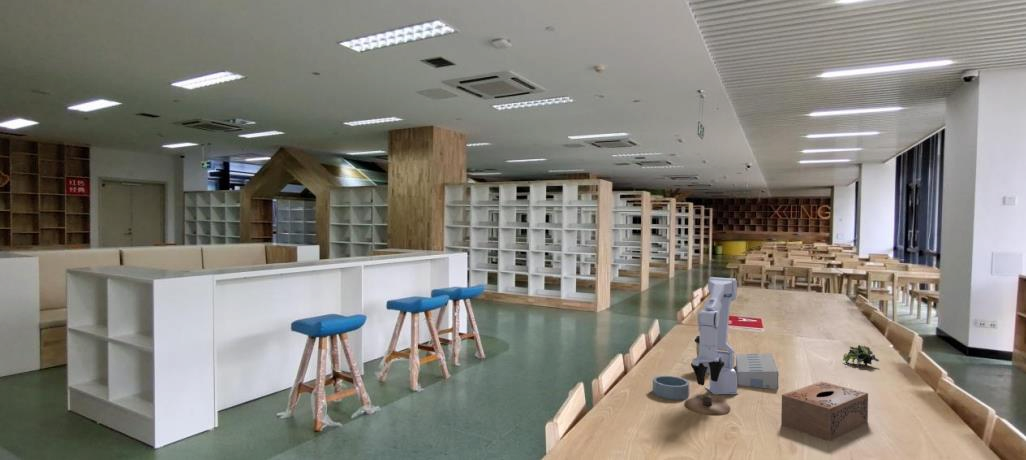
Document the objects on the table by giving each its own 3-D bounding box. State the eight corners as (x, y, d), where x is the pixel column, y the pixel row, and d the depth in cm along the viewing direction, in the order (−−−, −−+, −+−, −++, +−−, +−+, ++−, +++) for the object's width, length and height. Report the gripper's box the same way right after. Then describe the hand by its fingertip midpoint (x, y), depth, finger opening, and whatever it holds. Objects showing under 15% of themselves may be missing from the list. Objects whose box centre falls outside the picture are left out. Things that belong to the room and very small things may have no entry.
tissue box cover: (829, 442, 150) (829, 408, 150) (781, 425, 162) (781, 394, 162) (867, 423, 164) (868, 393, 164) (820, 409, 176) (821, 381, 176)
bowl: (680, 388, 198) (681, 375, 198) (694, 399, 185) (694, 386, 185) (648, 388, 197) (648, 375, 197) (659, 400, 184) (660, 386, 184)
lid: (718, 400, 185) (718, 389, 185) (738, 415, 170) (738, 403, 170) (678, 400, 185) (678, 389, 185) (695, 415, 170) (695, 404, 170)
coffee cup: (719, 375, 215) (719, 340, 215) (695, 373, 217) (696, 339, 216) (714, 369, 224) (715, 335, 224) (692, 367, 226) (693, 334, 226)
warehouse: (735, 366, 230) (736, 350, 230) (770, 370, 224) (771, 353, 224) (738, 385, 202) (738, 367, 202) (778, 390, 197) (778, 371, 197)
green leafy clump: (864, 376, 233) (884, 358, 228) (856, 376, 226) (876, 357, 222) (843, 358, 241) (861, 340, 236) (835, 357, 234) (853, 338, 230)
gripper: (704, 349, 170) (704, 389, 170) (730, 344, 178) (730, 382, 178) (687, 345, 176) (687, 383, 176) (713, 340, 184) (712, 377, 184)
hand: (707, 382), depth 177 cm, fingers open, 7 cm apart
